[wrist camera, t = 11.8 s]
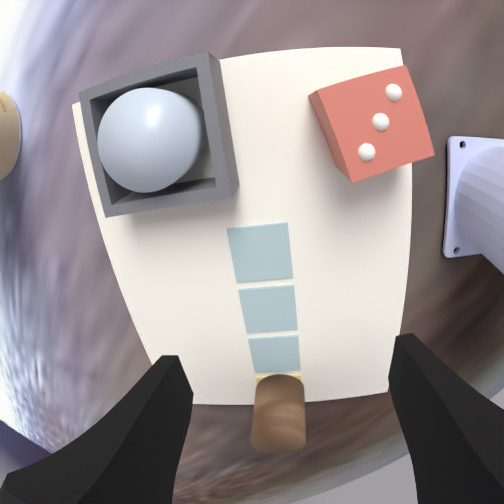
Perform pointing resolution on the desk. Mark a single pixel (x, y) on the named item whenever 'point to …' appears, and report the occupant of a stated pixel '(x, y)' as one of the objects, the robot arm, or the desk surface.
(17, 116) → the coffee cup
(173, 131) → the dome
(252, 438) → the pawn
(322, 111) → the die
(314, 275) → the board
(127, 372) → the desk surface
